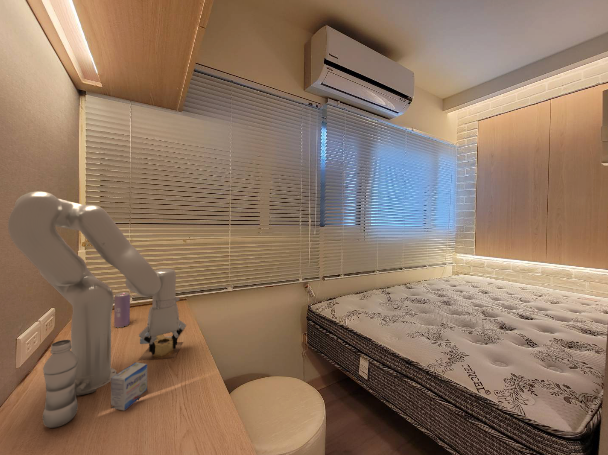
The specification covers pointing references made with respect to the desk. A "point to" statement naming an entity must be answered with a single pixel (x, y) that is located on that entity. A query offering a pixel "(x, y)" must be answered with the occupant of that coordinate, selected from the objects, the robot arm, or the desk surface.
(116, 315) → the beverage can
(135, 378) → the medicine box
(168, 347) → the ring
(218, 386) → the desk surface
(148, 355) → the board
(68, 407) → the plastic bottle
